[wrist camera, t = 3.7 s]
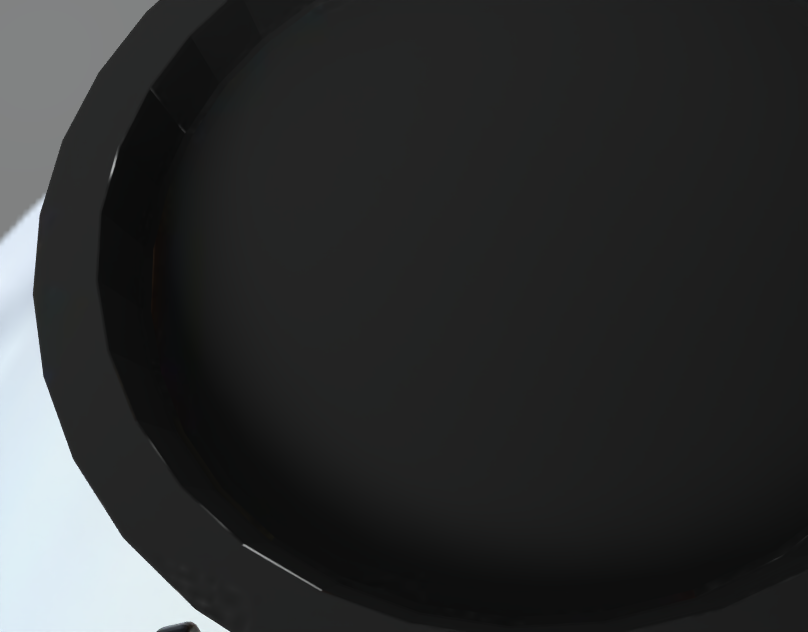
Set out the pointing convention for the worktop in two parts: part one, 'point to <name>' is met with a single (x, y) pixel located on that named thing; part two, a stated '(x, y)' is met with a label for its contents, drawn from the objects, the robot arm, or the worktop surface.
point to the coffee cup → (444, 311)
